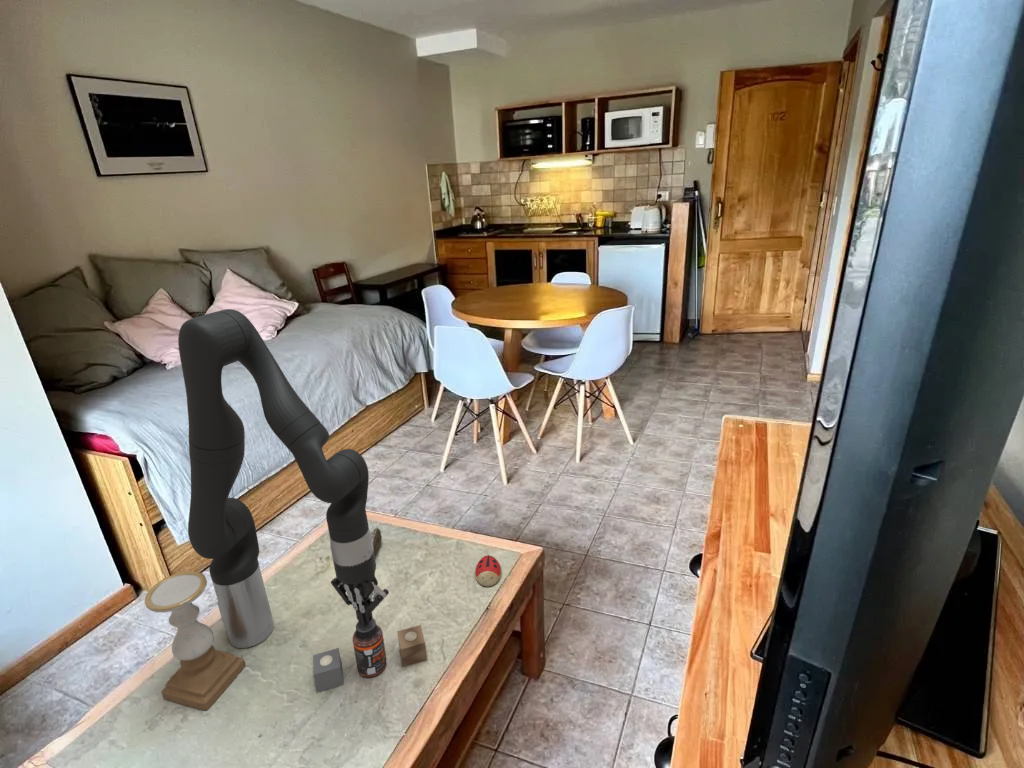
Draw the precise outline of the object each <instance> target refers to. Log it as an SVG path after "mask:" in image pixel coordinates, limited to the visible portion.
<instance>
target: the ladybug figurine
mask: <svg viewBox="0 0 1024 768" xmlns="http://www.w3.org/2000/svg"><path fill="white" fill-rule="evenodd" d="M501 576H502V567H501V564H500V562H499V561H498V560H497V558H495V557H494V556H492V555H484V556H483V557H481V558H480V560H479V561H478V563H477V564H476V566H475V570H474V577H475V580H476V581H477V583H478V584H479V585H481V586H482V587H492V586H494V585H496V584H497V583H498V582H499V581H500V579H501Z"/></svg>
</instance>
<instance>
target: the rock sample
mask: <svg viewBox="0 0 1024 768" xmlns="http://www.w3.org/2000/svg"><path fill="white" fill-rule="evenodd" d="M370 533H371V537H372V542H373V548H374V554H375V552H376V551H377V549H378V548H379V546H380V545H381V543H382V540H383V537H382V532H381V529H380V528H378V527H374V529H373V530H372V532H370Z"/></svg>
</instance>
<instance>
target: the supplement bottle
mask: <svg viewBox="0 0 1024 768" xmlns="http://www.w3.org/2000/svg"><path fill="white" fill-rule="evenodd" d="M352 644H353V645H352V646H353V650H354V651H353V652H354V656H355V662H356V668H357V672H358V673H359V675H360V676H363V677H365V678H372V677H376V676H378V675H379V674H381V673H382V672H383V671H384V670H385V668H386V666H387V655H386V648H385V641H384V634H383V630H382V628H381V626H380V625H378V624H377V621H376V619H375V618H373V619H372V620H371V621H370V622H369V623H368V624H367V625H366V626H363V625H361V624H359V621H358V620H357V623H356V624H355V631H354V633H353V635H352Z"/></svg>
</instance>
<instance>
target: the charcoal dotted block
mask: <svg viewBox="0 0 1024 768" xmlns="http://www.w3.org/2000/svg"><path fill="white" fill-rule="evenodd" d="M339 648H340V647H336V648H333V649H330V650H326V651H322V652H319V653H315V654H312V669H313V670H312V674H313V675H312V676H313V680H314V684H315V689H316V693H317V694H319V693H318V692H320V693H323V692H325V691H326V692H327V691H329V690H332V689H336V688H339V686H340V687H343V686H344V674H343V673H344V672H343V664H342V663H343V662H342V658H341V653H340V649H339ZM342 685H343V686H342ZM322 691H323V692H322Z"/></svg>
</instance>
